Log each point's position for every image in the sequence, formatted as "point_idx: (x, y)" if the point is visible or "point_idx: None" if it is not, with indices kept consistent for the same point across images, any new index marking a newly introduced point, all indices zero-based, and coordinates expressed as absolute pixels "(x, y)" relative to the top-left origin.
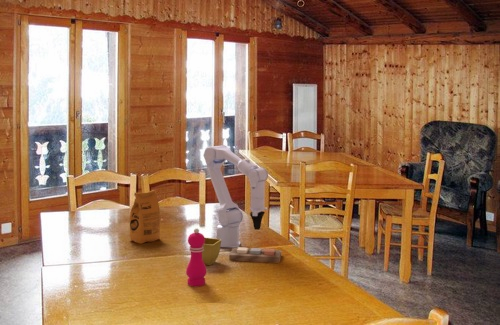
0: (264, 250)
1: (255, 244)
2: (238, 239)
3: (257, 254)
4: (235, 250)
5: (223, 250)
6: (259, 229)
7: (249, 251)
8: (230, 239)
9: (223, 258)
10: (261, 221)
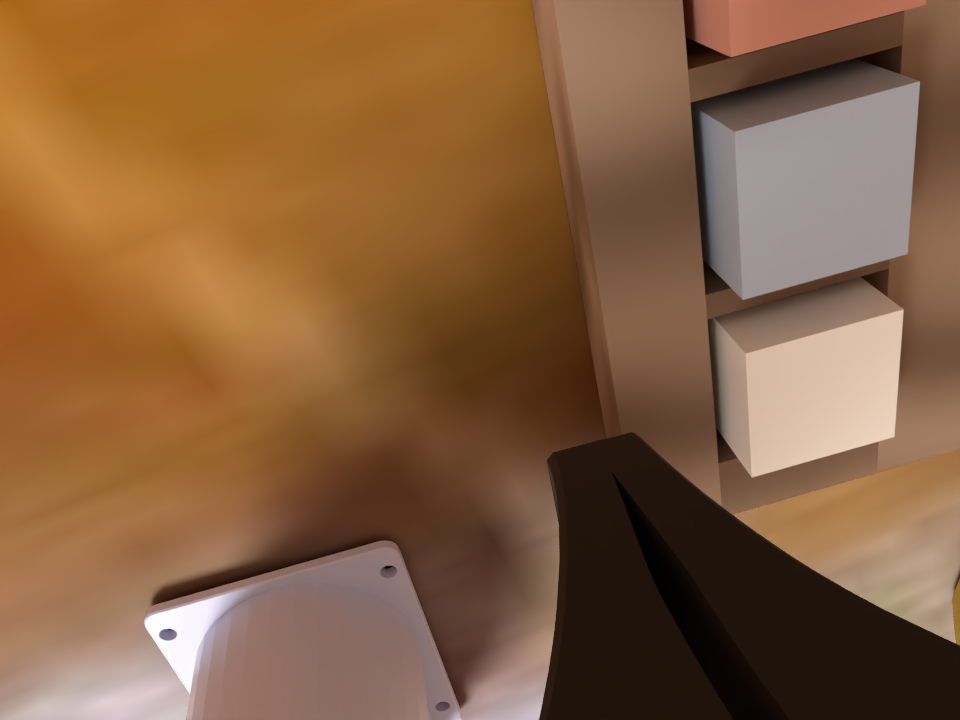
0: (872, 13)
1: (54, 432)
2: (283, 648)
3: None
4: None
5: (548, 614)
6: (616, 437)
7: None
8: (421, 703)
9: (853, 486)
10: (568, 597)
